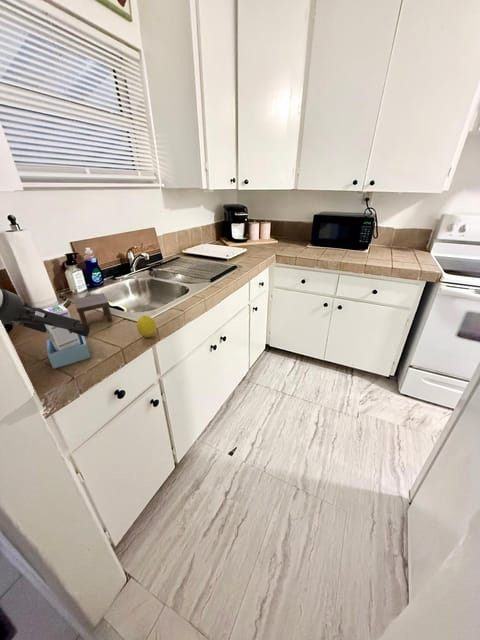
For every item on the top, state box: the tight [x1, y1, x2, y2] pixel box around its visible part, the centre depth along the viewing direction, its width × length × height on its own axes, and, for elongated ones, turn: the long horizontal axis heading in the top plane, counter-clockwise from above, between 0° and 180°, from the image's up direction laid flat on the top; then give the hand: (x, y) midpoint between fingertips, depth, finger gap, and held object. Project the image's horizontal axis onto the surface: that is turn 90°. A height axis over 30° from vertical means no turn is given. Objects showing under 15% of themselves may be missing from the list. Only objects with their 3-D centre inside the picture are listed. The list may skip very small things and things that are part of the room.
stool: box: [73, 292, 114, 327], centre depth 94 cm, size 10×10×8 cm
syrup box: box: [43, 304, 81, 352], centre depth 73 cm, size 6×6×14 cm
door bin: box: [46, 334, 91, 370], centre depth 76 cm, size 9×9×4 cm
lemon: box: [136, 314, 156, 338], centre depth 84 cm, size 6×6×8 cm
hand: (66, 330), depth 74 cm, fingers open, 13 cm apart
